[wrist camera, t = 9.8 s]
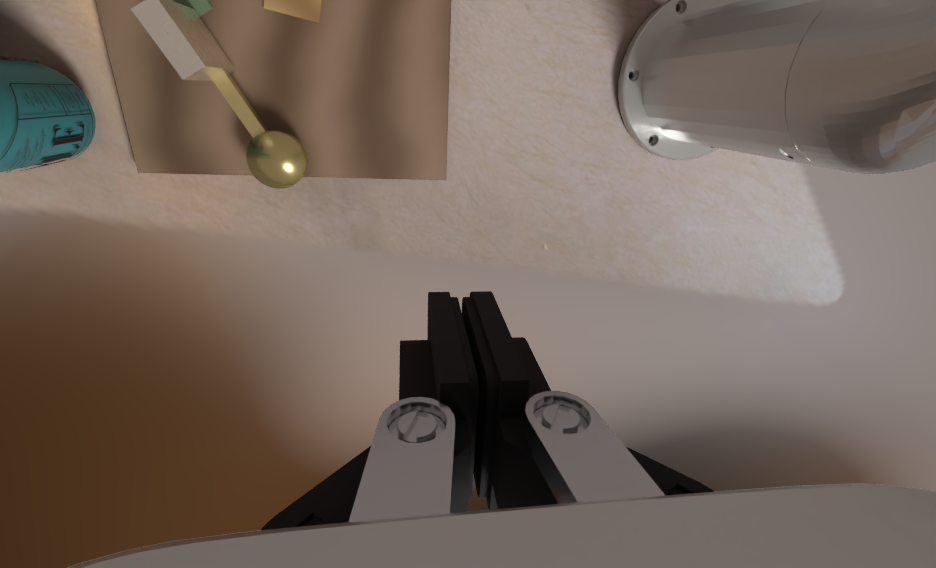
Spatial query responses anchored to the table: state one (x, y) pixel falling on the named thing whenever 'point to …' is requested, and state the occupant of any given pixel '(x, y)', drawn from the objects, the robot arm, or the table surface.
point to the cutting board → (294, 86)
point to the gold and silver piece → (221, 87)
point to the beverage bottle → (40, 116)
